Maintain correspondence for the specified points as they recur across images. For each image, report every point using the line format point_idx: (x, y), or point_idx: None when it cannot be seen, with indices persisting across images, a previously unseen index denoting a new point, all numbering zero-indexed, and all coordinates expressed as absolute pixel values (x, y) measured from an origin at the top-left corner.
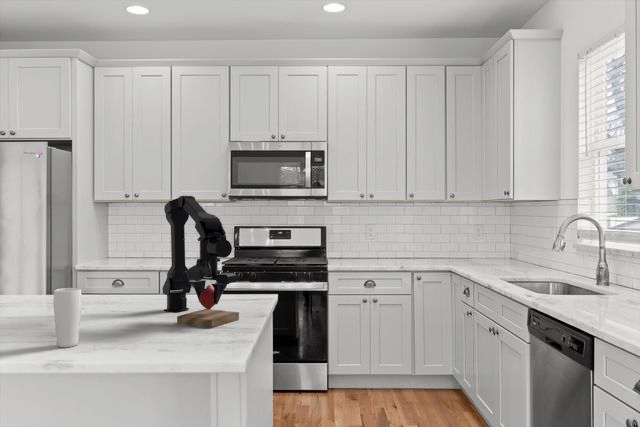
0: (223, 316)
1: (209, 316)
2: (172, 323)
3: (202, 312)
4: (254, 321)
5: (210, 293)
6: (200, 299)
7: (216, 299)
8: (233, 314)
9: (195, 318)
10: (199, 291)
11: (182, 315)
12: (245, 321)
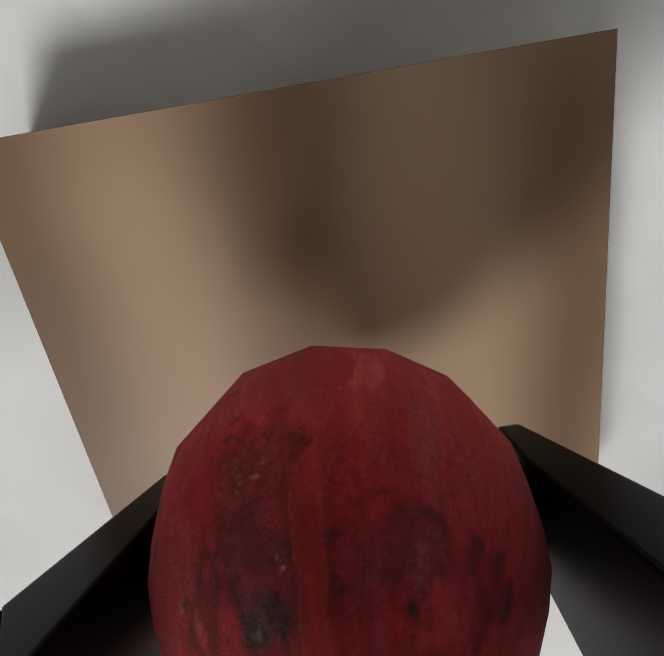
0: (80, 395)
1: (210, 298)
2: (631, 31)
3: (479, 408)
4: (23, 578)
5: (177, 593)
6: (390, 366)
7: (103, 534)
8: None
9: (259, 93)
10: (637, 591)
11: (577, 118)
12: (78, 541)
